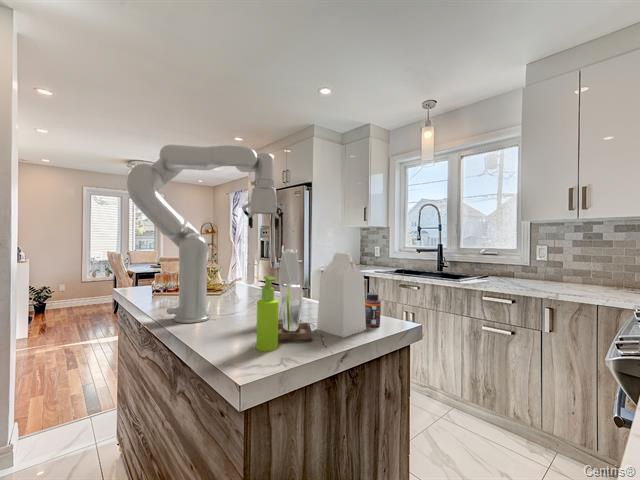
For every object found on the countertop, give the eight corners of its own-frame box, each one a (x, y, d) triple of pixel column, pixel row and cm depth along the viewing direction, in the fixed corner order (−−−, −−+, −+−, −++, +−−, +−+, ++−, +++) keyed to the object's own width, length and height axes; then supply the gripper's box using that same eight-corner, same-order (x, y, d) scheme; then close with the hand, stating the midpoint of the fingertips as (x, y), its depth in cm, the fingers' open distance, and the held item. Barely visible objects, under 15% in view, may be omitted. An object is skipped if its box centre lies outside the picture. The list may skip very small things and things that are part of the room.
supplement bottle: (378, 328, 110) (379, 295, 110) (361, 326, 112) (362, 294, 112) (381, 324, 116) (382, 293, 116) (365, 322, 118) (365, 291, 118)
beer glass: (298, 337, 96) (299, 287, 96) (276, 335, 97) (277, 286, 97) (304, 330, 103) (305, 284, 103) (284, 329, 104) (284, 283, 104)
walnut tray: (271, 342, 93) (271, 333, 93) (272, 330, 105) (272, 322, 105) (311, 341, 95) (312, 333, 95) (308, 330, 107) (309, 322, 107)
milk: (365, 330, 108) (367, 253, 107) (343, 337, 99) (344, 254, 99) (339, 323, 116) (340, 252, 116) (316, 329, 108) (318, 252, 108)
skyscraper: (271, 320, 117) (273, 245, 117) (287, 317, 124) (289, 244, 123) (287, 325, 112) (288, 245, 112) (303, 321, 118) (304, 245, 118)
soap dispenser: (259, 354, 84) (261, 278, 84) (254, 345, 90) (255, 275, 90) (281, 351, 86) (282, 277, 86) (274, 343, 93) (275, 274, 92)
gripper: (240, 182, 122) (240, 227, 122) (286, 184, 124) (285, 228, 124) (243, 186, 129) (242, 228, 129) (286, 187, 131) (285, 229, 131)
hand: (263, 228), depth 126 cm, fingers open, 9 cm apart
